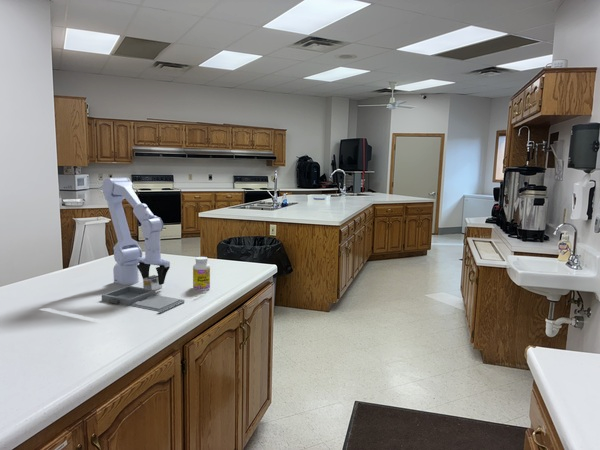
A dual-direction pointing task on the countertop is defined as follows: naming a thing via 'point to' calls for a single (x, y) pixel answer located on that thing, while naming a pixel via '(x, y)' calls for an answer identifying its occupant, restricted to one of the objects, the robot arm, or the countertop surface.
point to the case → (141, 299)
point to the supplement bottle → (201, 274)
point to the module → (151, 283)
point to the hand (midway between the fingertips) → (153, 282)
